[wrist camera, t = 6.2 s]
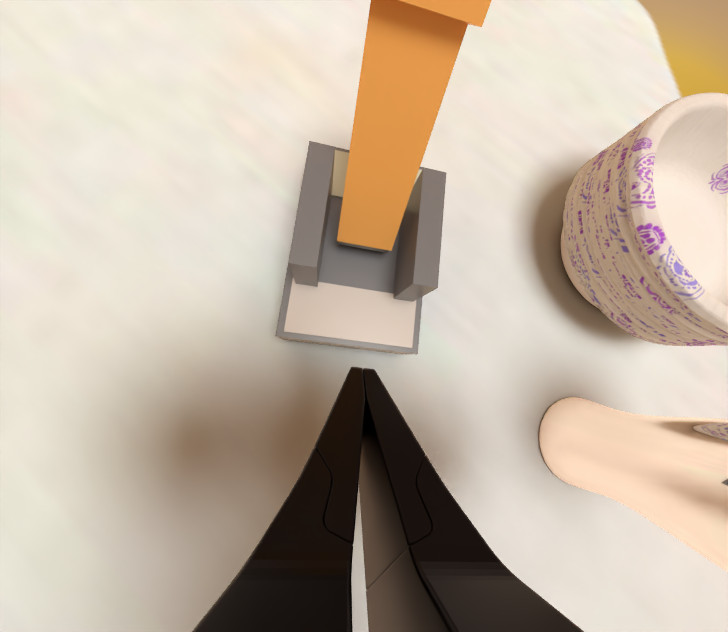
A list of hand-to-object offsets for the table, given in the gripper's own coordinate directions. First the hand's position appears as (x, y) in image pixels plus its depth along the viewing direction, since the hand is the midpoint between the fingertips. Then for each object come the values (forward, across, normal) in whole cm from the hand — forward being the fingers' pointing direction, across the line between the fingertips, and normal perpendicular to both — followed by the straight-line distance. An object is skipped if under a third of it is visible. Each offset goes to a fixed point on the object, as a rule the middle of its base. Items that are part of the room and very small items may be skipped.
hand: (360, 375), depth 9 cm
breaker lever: (+8, 0, -2) cm, 8 cm away
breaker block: (+11, 0, +1) cm, 11 cm away
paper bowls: (+14, -21, -2) cm, 26 cm away
